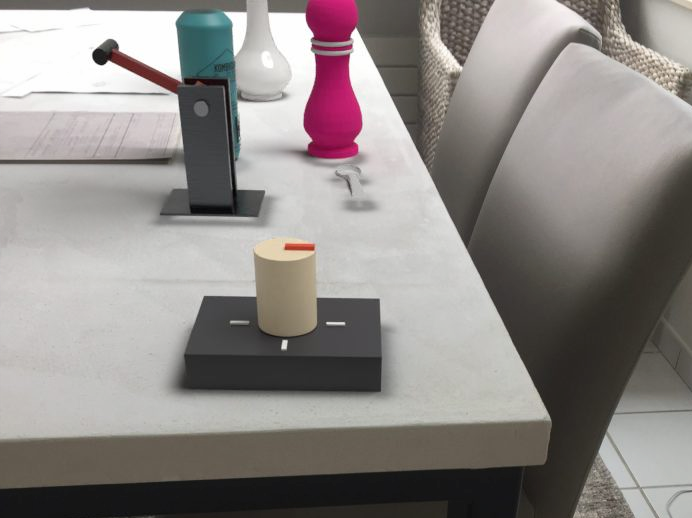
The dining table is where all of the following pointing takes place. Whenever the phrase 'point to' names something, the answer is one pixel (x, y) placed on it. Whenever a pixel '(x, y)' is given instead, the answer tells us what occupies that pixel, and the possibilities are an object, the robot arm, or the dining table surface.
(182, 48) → the beverage bottle
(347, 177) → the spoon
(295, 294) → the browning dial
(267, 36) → the flower vase
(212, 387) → the dial panel
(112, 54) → the red lever
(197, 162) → the lever bracket
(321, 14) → the pepper mill
